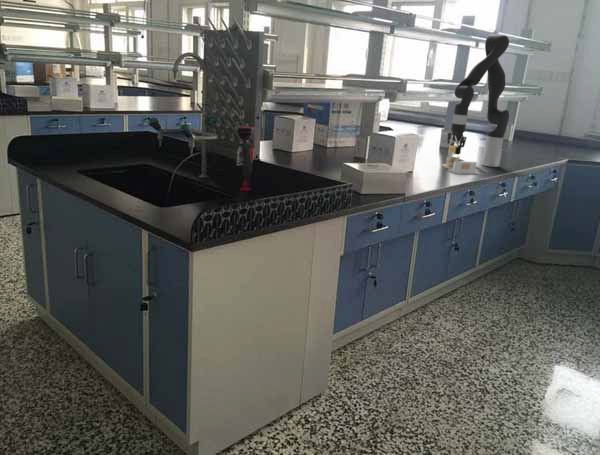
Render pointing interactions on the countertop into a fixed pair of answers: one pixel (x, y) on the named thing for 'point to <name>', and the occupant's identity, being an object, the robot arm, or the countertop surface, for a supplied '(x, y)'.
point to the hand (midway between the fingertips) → (454, 153)
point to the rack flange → (464, 167)
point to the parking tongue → (450, 162)
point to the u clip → (453, 149)
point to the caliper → (476, 167)
